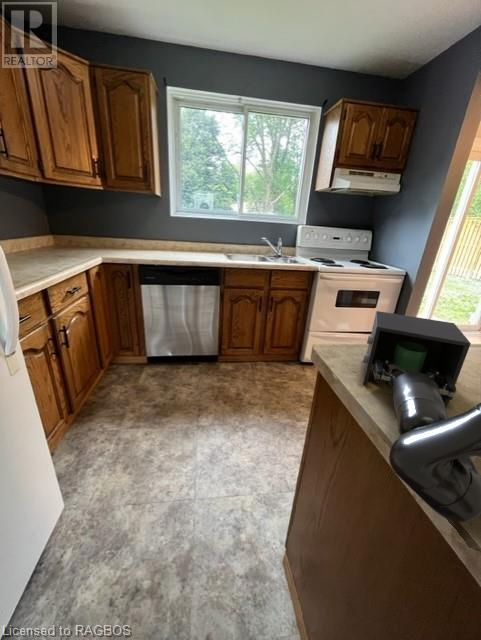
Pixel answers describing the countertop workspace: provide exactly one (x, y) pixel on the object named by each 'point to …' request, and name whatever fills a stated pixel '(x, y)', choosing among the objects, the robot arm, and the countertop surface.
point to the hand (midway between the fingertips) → (407, 362)
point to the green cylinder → (409, 356)
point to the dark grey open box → (435, 335)
